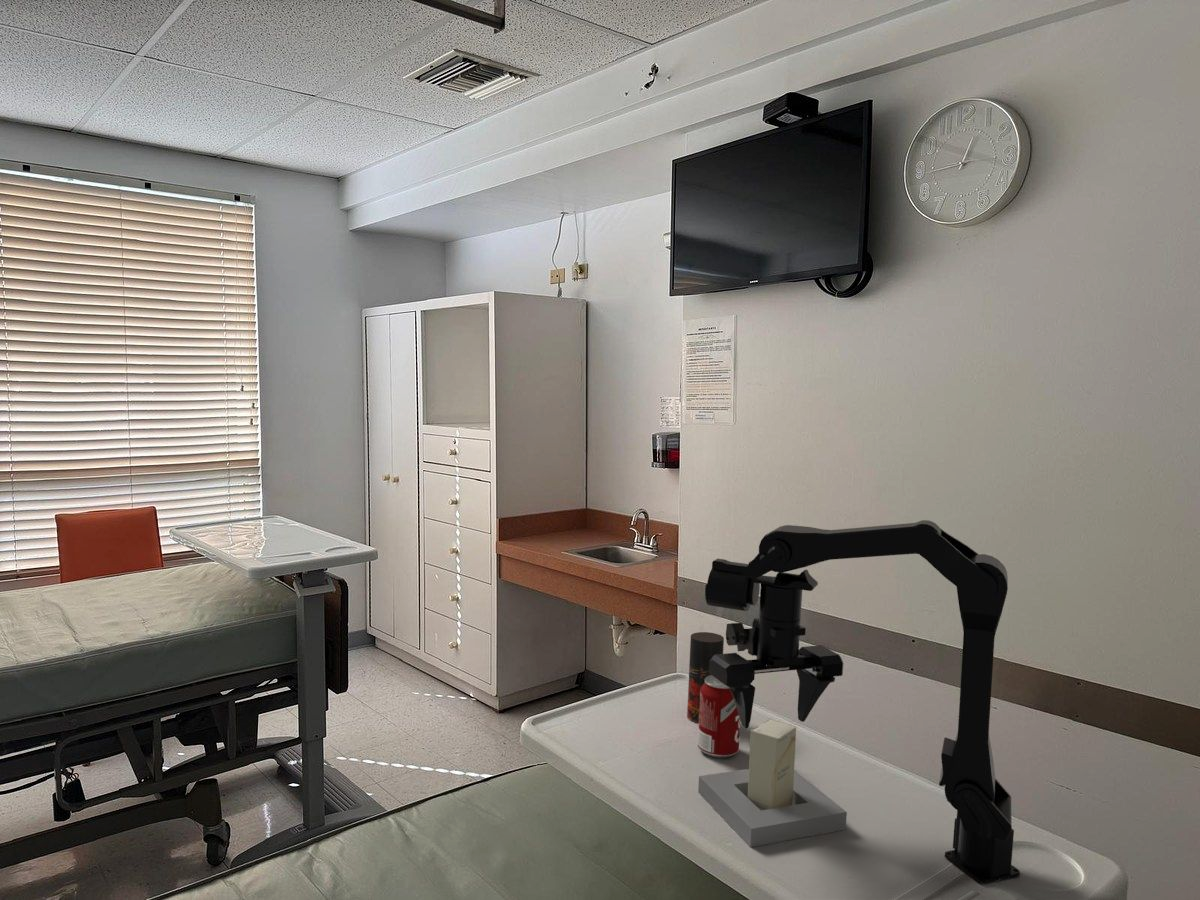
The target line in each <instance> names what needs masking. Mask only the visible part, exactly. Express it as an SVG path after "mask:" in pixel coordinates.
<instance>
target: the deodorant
mask: <svg viewBox="0 0 1200 900" xmlns="http://www.w3.org/2000/svg"><path fill="white" fill-rule="evenodd" d="M724 640H725V638H724V636H723V635H721V634H718V633H715V632H714V633H713V632H707V631H706V632H705V631H700V632H693V633H692V634H691V635H690V643H689V644H690V645H689V662H688V663H689V664H688V665H689V667H688V684H687V685H688V688H687V689H688V691H687V708H686V711H687V712H686V717H687V719H688V721H690V722H693V723H695V724H697V725H699V708H700V689H701V687H702V686H703V685H704V683H705V678H706V677H708V676H711V674H710V673H709V664H710V660H711V659H712V657H713V656H714V655H716V654H724V644H725V641H724Z"/></svg>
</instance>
